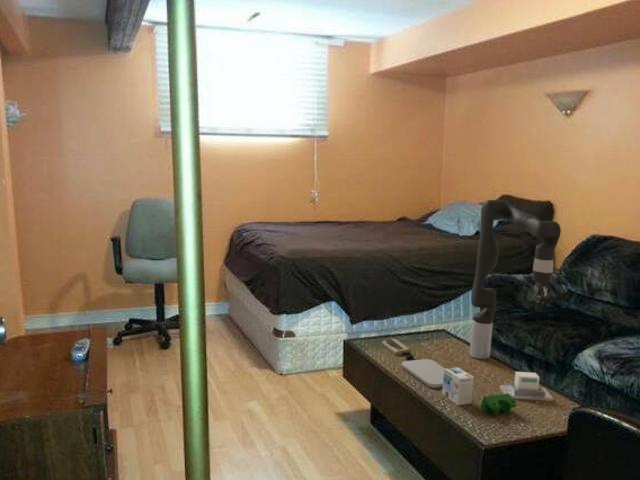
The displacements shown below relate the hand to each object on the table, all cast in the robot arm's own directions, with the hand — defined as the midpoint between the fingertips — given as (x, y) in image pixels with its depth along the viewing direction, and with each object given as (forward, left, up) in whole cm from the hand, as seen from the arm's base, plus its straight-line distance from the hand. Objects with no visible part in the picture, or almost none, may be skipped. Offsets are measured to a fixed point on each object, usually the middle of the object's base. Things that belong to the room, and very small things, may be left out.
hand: (538, 311), depth 227 cm
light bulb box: (+19, -34, -32) cm, 51 cm away
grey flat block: (+10, -5, -32) cm, 34 cm away
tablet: (-4, -41, -33) cm, 53 cm away
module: (+10, -5, -31) cm, 33 cm away
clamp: (+29, -21, -32) cm, 48 cm away
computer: (-34, -54, -33) cm, 72 cm away
